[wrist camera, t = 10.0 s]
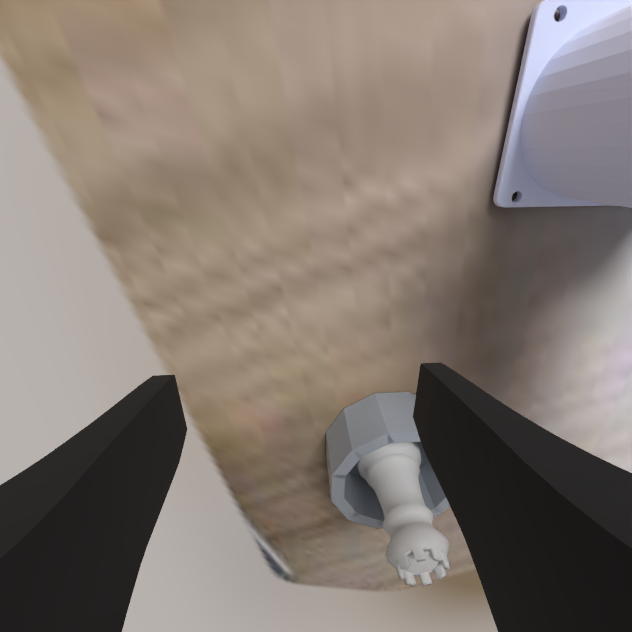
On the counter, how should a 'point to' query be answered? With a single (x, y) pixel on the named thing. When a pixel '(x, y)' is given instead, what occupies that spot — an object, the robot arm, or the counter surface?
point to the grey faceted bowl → (365, 437)
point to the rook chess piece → (405, 512)
